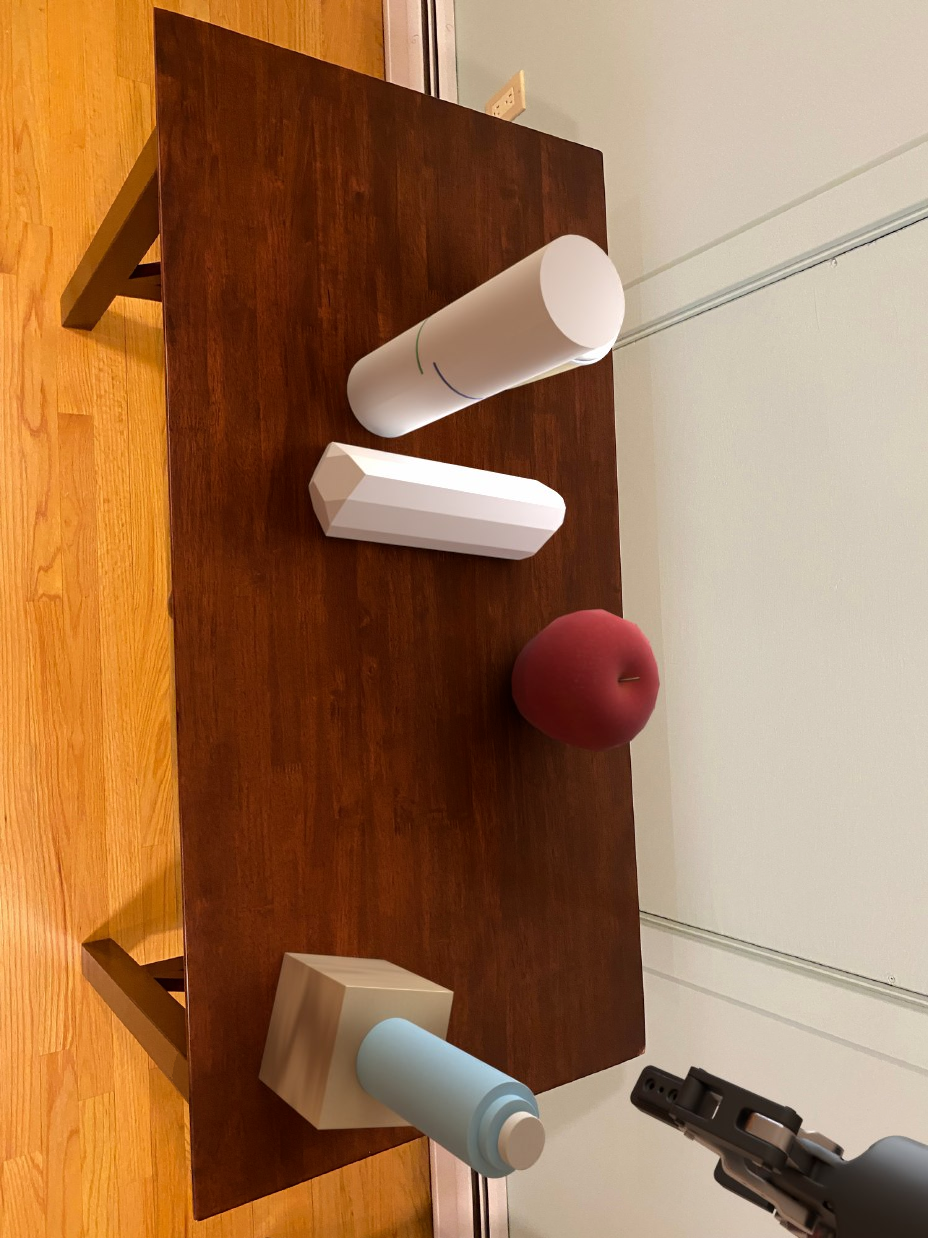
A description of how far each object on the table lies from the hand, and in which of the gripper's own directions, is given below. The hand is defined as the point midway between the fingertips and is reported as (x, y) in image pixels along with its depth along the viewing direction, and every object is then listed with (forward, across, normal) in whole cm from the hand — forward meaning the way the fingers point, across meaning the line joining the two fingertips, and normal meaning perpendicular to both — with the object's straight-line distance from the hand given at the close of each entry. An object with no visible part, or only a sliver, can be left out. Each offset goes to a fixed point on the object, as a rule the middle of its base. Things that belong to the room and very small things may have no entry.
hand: (682, 1125), depth 51 cm
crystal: (+31, -24, +31) cm, 50 cm away
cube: (+30, -4, -5) cm, 31 cm away
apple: (+31, -6, +28) cm, 42 cm away
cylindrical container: (+31, -34, +36) cm, 58 cm away
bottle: (+20, -4, -5) cm, 22 cm away
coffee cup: (+30, -29, +48) cm, 64 cm away
